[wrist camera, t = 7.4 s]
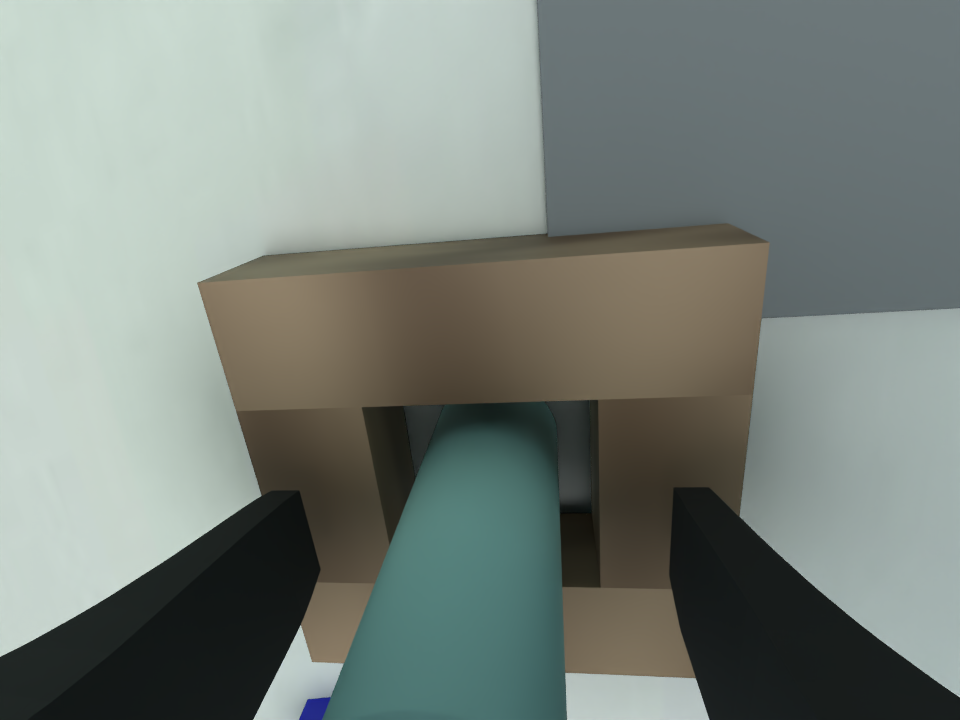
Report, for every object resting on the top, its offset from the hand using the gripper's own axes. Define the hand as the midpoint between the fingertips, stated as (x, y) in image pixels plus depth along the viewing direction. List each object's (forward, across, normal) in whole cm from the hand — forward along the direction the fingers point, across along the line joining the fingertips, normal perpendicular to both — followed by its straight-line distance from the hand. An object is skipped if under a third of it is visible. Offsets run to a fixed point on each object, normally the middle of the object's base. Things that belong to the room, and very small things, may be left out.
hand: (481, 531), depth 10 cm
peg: (+3, 0, 0) cm, 3 cm away
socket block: (+3, 0, 0) cm, 3 cm away
